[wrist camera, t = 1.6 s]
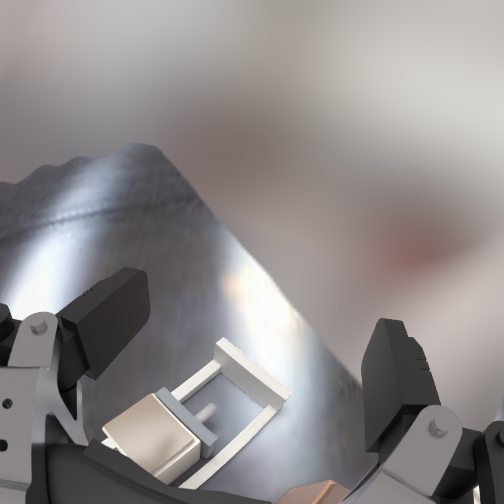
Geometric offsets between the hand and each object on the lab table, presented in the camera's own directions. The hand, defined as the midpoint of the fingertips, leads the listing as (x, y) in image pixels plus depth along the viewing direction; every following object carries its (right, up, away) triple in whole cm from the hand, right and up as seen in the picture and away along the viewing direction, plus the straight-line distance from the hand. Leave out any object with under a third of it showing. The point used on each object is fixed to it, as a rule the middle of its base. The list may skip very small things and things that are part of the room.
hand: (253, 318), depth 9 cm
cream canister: (-9, -18, +12) cm, 24 cm away
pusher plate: (-6, -16, +15) cm, 23 cm away
